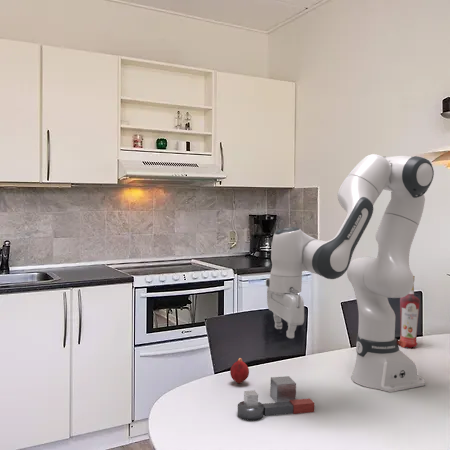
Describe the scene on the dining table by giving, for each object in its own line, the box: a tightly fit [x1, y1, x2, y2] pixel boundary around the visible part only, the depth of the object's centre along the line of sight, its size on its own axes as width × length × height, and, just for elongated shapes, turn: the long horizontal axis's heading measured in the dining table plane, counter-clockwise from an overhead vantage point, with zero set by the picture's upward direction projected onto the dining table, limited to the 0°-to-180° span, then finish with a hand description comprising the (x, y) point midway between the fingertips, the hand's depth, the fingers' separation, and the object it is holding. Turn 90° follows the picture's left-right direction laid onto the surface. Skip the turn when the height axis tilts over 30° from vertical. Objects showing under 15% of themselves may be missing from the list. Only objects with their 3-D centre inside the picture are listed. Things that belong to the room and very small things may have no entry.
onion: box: [229, 357, 250, 385], centre depth 154 cm, size 6×6×8 cm
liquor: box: [399, 275, 421, 349], centre depth 195 cm, size 7×7×28 cm
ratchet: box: [236, 389, 315, 422], centre depth 133 cm, size 21×7×6 cm, turn 104°
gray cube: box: [269, 375, 297, 403], centre depth 142 cm, size 6×6×6 cm
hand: (284, 332), depth 141 cm, fingers open, 8 cm apart
